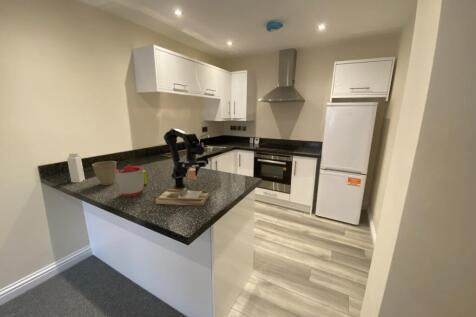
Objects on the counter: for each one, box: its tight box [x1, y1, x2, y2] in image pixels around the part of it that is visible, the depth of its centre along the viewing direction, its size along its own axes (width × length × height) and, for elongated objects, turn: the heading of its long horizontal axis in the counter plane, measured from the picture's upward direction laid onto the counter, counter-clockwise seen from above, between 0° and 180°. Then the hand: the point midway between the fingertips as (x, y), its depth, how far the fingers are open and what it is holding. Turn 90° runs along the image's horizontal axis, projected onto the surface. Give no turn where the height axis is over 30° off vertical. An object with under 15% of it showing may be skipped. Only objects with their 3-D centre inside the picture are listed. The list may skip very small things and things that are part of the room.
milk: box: [66, 153, 85, 183], centre depth 150 cm, size 6×6×22 cm
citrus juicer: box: [115, 164, 145, 198], centre depth 126 cm, size 16×17×20 cm
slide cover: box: [179, 187, 202, 199], centre depth 117 cm, size 11×11×4 cm
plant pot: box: [91, 160, 117, 186], centre depth 145 cm, size 15×15×16 cm
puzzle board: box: [155, 188, 210, 207], centre depth 118 cm, size 14×28×4 cm, turn 84°
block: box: [186, 167, 198, 180], centre depth 128 cm, size 5×5×6 cm
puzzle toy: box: [143, 169, 148, 185], centre depth 145 cm, size 10×10×10 cm
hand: (192, 176), depth 129 cm, fingers closed on block, 5 cm apart
